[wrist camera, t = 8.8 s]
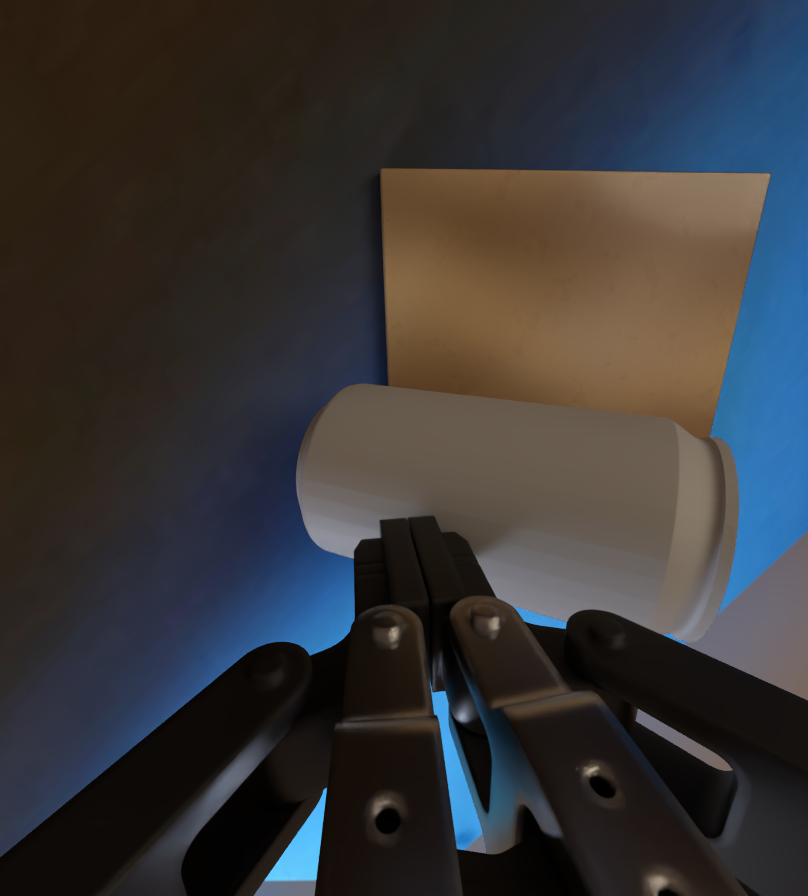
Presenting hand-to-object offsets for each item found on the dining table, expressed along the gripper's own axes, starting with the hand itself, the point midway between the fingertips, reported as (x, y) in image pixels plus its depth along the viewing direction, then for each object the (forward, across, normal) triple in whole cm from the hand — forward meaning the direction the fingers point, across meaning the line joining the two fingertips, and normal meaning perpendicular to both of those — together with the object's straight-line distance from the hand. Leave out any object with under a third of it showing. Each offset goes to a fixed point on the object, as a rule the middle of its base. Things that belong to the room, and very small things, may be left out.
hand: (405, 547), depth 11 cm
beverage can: (+5, +2, -1) cm, 6 cm away
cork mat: (+8, -8, -1) cm, 12 cm away
